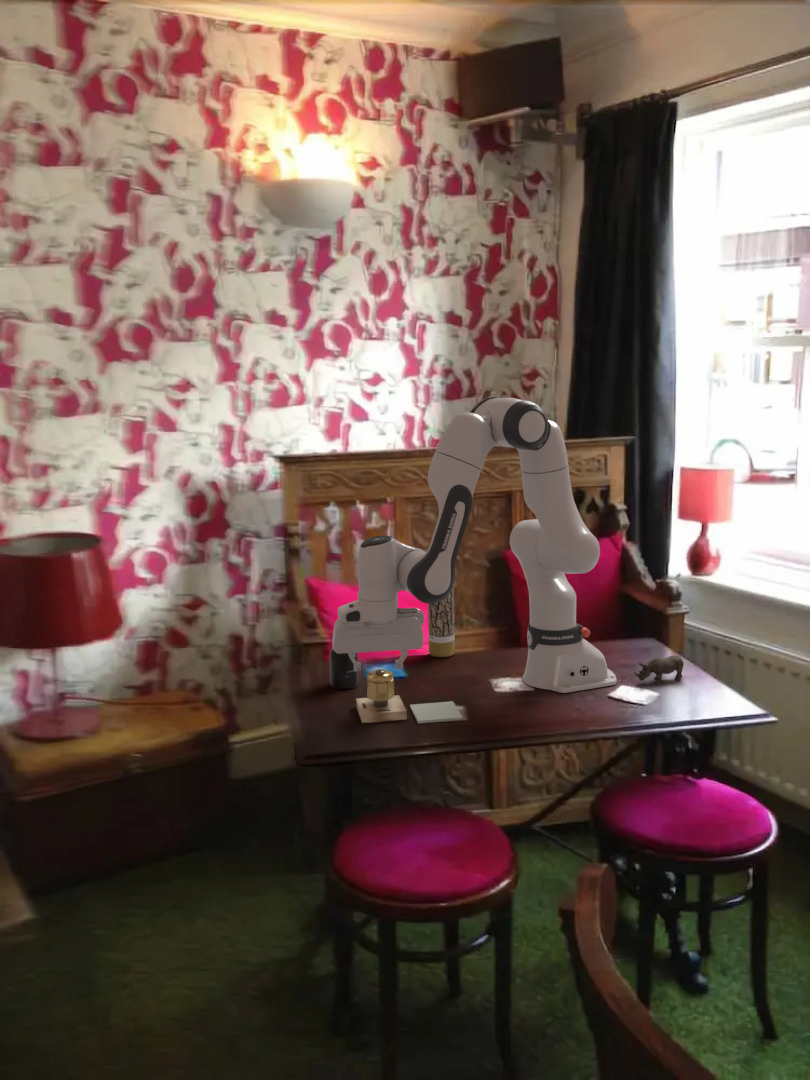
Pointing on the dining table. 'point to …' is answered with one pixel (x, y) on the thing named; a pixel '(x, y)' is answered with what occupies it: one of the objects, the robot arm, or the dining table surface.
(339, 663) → the supplement bottle
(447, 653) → the paper tube
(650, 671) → the rhino figurine
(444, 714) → the coaster
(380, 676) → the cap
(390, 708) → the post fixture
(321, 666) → the dining table surface
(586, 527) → the robot arm
